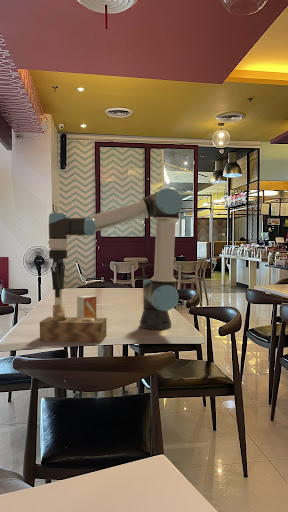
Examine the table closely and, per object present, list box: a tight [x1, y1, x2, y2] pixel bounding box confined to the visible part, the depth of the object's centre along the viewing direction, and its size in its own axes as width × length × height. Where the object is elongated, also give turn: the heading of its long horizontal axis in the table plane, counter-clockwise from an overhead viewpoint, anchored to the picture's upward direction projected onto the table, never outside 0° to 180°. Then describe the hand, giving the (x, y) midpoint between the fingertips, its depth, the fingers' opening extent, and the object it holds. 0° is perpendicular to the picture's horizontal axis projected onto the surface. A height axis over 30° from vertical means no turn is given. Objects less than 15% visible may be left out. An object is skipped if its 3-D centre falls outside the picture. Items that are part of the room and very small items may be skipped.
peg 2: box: [83, 318, 95, 322], centre depth 171 cm, size 5×5×8 cm
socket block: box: [39, 316, 108, 343], centre depth 172 cm, size 26×11×8 cm, turn 84°
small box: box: [76, 294, 97, 318], centre depth 207 cm, size 8×6×13 cm
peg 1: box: [52, 303, 66, 321], centre depth 172 cm, size 5×5×8 cm
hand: (58, 304), depth 172 cm, fingers closed
